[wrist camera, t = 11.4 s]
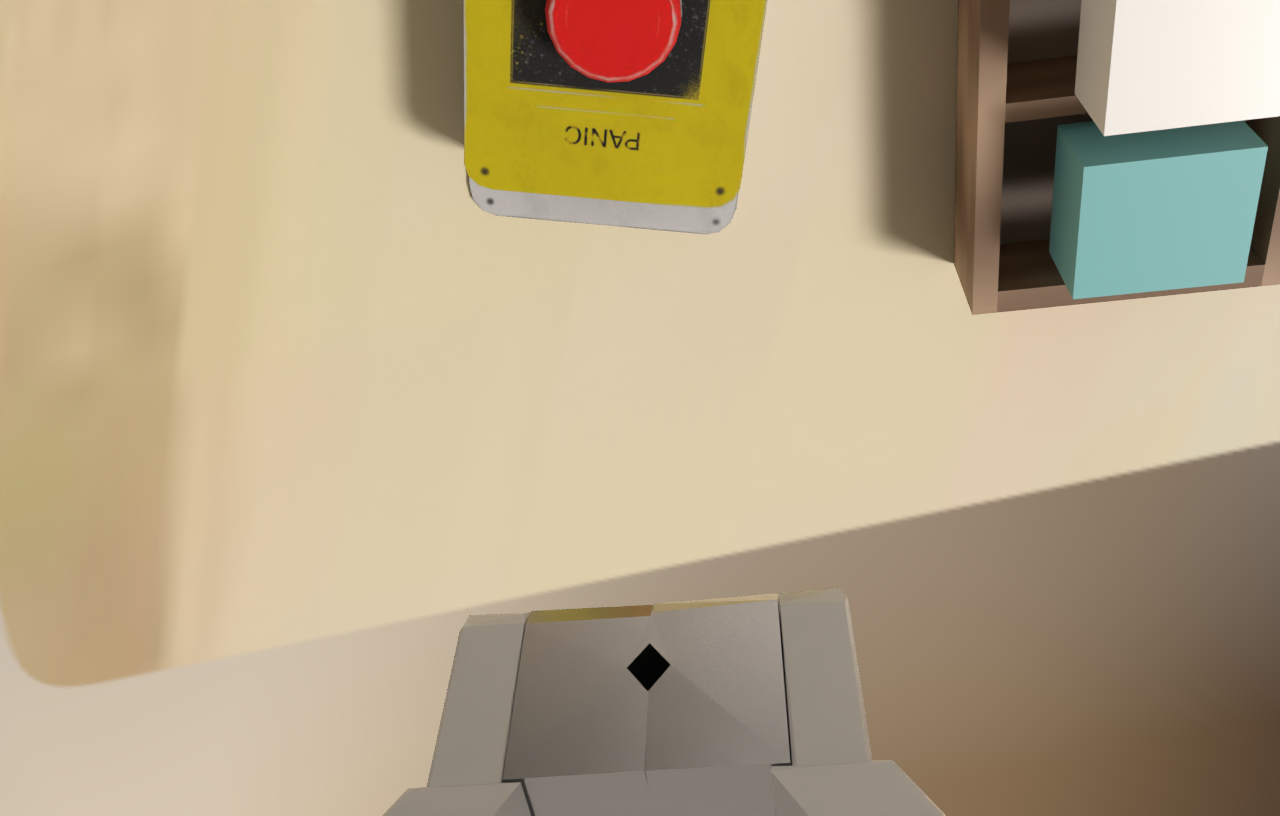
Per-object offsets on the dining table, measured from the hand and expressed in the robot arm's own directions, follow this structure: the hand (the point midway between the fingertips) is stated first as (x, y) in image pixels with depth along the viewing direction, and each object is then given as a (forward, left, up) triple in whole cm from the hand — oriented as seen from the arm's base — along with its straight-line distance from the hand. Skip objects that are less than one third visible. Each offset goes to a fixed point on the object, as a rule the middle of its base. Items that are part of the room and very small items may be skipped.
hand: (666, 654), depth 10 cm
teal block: (+11, +13, -29) cm, 34 cm away
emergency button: (+5, -3, -32) cm, 32 cm away
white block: (+5, +13, -28) cm, 31 cm away
